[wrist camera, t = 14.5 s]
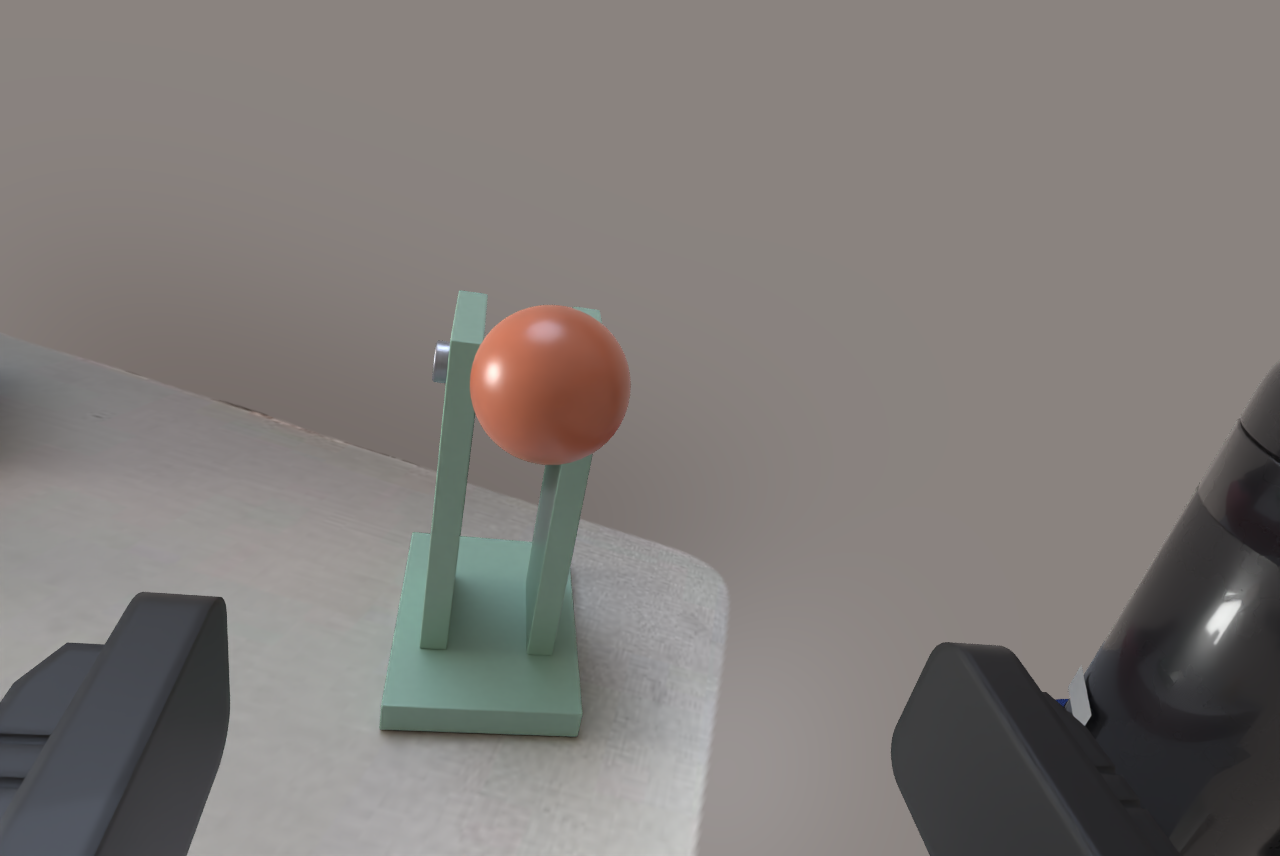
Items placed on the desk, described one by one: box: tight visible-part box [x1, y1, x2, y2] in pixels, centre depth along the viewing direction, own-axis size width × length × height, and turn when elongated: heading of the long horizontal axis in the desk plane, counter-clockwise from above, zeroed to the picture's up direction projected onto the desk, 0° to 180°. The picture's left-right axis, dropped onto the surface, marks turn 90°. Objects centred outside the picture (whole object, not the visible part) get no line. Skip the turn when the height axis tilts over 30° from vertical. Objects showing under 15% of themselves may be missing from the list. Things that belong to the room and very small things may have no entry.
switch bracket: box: [379, 290, 602, 737], centre depth 31 cm, size 10×7×14 cm
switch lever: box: [470, 305, 631, 465], centre depth 24 cm, size 13×4×4 cm, turn 6°
